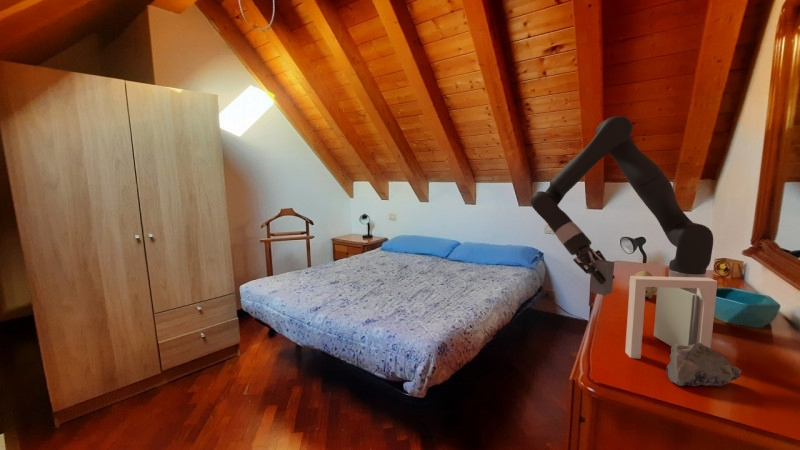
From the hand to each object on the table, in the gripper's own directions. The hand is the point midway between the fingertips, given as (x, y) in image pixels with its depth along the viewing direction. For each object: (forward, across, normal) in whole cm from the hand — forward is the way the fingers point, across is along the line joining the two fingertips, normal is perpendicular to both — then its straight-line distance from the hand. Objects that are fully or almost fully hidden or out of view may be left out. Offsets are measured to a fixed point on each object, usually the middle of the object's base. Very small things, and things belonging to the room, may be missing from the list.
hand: (607, 280), depth 104 cm
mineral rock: (+30, -13, -8) cm, 34 cm away
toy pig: (+8, +42, +14) cm, 45 cm away
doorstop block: (+2, 0, +4) cm, 5 cm away
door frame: (+24, -5, -1) cm, 24 cm away
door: (+23, +3, -2) cm, 23 cm away
